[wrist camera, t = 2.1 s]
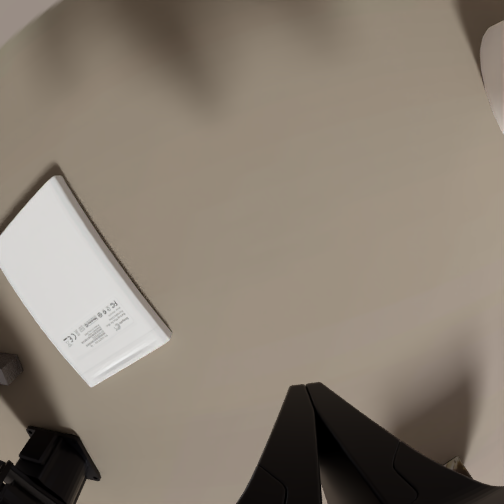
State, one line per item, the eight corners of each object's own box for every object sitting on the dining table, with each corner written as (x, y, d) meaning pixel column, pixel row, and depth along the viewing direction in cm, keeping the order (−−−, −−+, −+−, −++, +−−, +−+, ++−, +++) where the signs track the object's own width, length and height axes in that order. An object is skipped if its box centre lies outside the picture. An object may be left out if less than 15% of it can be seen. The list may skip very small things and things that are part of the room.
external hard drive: (65, 174, 18) (174, 330, 20) (1, 245, 19) (96, 378, 21) (52, 175, 16) (169, 342, 19) (-12, 250, 17) (88, 390, 20)
